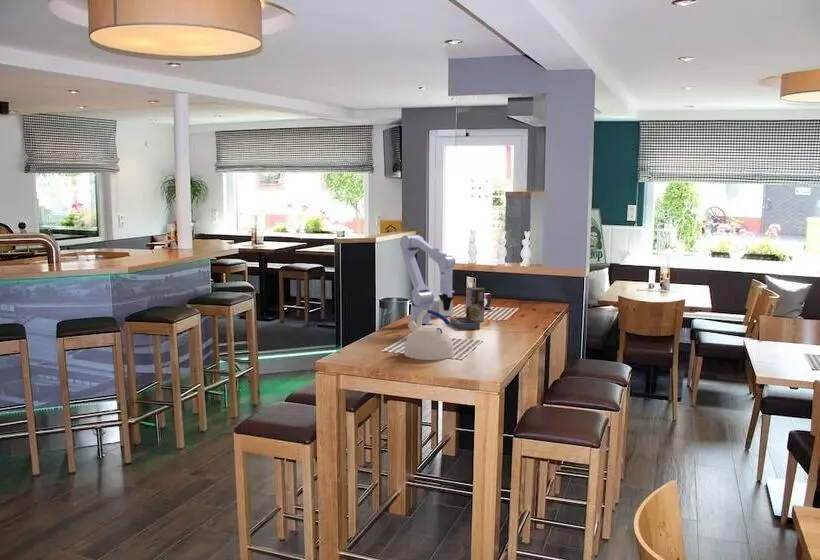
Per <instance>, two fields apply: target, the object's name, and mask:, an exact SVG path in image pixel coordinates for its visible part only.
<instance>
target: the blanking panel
mask: <svg viewBox="0 0 820 560" xmlns="http://www.w3.org/2000/svg"><path fill="white" fill-rule="evenodd" d="M453 303H454V301H453V300H452V301H451V303H450V308H449V311H444V307H443V301H440V304H439V314H441V315H443V316H451V317H453V316H452V312H453V309H454V304H453Z"/></svg>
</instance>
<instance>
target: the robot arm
mask: <svg viewBox="0 0 820 560" xmlns="http://www.w3.org/2000/svg"><path fill="white" fill-rule="evenodd" d="M399 244H400V248H401V249H400V250H401V251H402V257H403V260H404V262H405V267H406V269H407V272H408V274H409V277H410V280H411V283H412V287H413V289H412V291H410V292H411V299H412V303H413V305H411V307H410V322H411V321H415V323H416V324H417V318H418V316H419V314H420V313H421V312H423V311H425V310H431V303H432V302H433V300H434V298H435V297H434V293H433V292H432V291H431V288H430V287H429V286H427V285H426V284H425V282H424V279H423V276H422V273H421V270H420V268H419V265H418V261H417V259H416V257H415V255H416V254H417V253H418V251H419V249H421V250H422V251H424V252H425V253H427V254H428V255H429V258H430V259H432V261H434V262H435V263H436V264H437V266H438V269H439V272H440V274H439V277H440V278H439V280H440V281H439V293H440V294H438V298H440V299H441V301H443V307H444V311H449V308H450V303H451V301H453V298H454V296H453V293H455V291H456V290H453V268H454V267H455V265H456V260H455V257H453V255H448V254H447V253H445V252H443V251H442V250H441V249H440V248H439V247H432V245H430V244H429V243H428V242H427V241H426V240H424V237H423V236H421V235H420V234H414V235H413V234H409V235H404V234H403V236H402V237H401V238H400V240H399ZM410 322H409V323H410ZM422 324H425V325H433V322H432V321H431V316H430V313H426V314H424V315H423V317H422Z"/></svg>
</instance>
